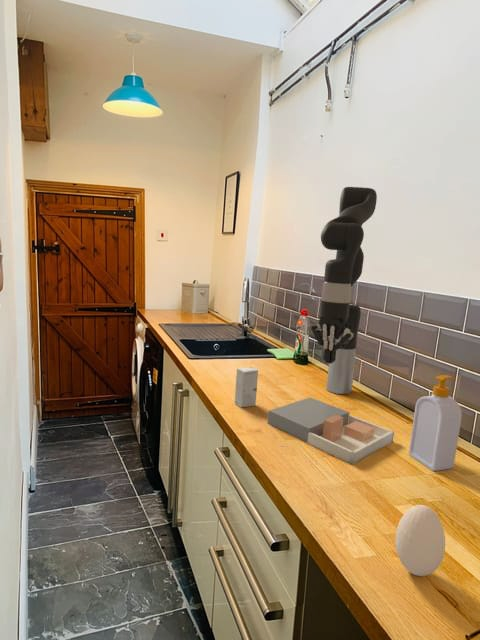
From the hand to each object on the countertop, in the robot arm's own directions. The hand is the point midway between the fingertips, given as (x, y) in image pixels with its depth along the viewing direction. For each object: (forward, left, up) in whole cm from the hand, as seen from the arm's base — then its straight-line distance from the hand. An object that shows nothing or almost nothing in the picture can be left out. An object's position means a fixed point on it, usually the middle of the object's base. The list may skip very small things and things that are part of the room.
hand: (329, 362), depth 112 cm
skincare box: (+1, -30, -22) cm, 38 cm away
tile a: (-9, +6, -19) cm, 22 cm away
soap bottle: (-12, +26, -22) cm, 36 cm away
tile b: (-1, +2, -18) cm, 18 cm away
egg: (+29, +40, -22) cm, 54 cm away
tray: (-4, +7, -22) cm, 23 cm away
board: (-4, -8, -22) cm, 24 cm away
